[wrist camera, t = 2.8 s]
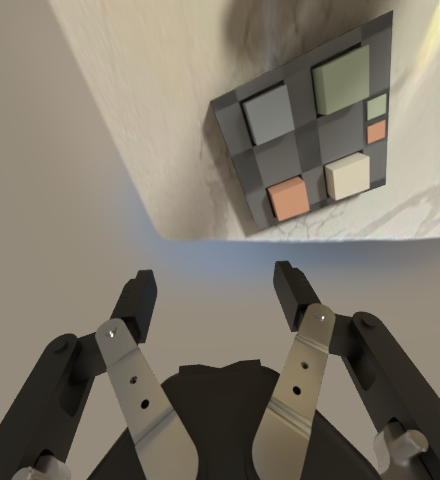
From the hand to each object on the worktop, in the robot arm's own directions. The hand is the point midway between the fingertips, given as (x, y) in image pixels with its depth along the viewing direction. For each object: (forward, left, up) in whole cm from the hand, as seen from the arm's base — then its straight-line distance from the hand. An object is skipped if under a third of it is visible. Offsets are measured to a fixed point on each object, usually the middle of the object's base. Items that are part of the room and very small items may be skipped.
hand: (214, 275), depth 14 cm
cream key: (-17, +6, -19) cm, 26 cm away
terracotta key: (-9, +6, -19) cm, 22 cm away
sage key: (-17, -5, -19) cm, 26 cm away
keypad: (-13, +1, -21) cm, 25 cm away
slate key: (-9, -5, -19) cm, 21 cm away
